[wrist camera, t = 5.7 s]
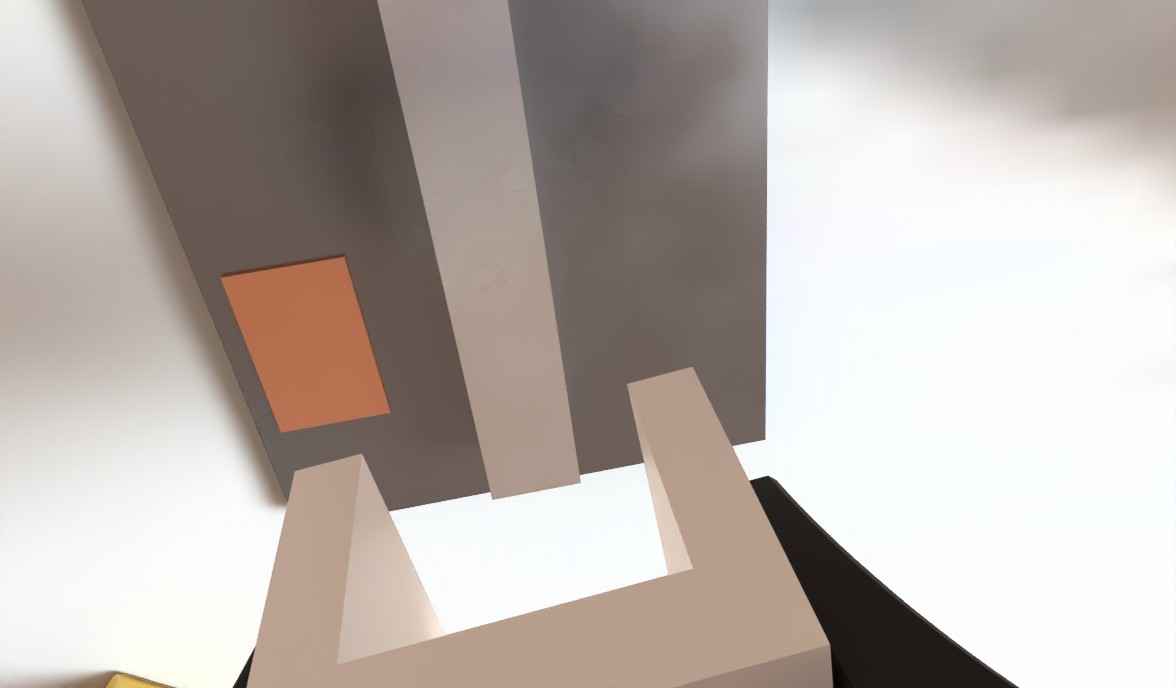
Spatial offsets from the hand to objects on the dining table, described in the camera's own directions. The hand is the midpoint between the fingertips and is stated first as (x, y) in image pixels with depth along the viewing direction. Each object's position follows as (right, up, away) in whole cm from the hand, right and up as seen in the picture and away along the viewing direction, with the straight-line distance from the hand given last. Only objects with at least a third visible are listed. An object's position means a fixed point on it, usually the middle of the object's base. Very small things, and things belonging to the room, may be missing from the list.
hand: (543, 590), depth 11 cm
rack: (-2, +8, +6) cm, 10 cm away
